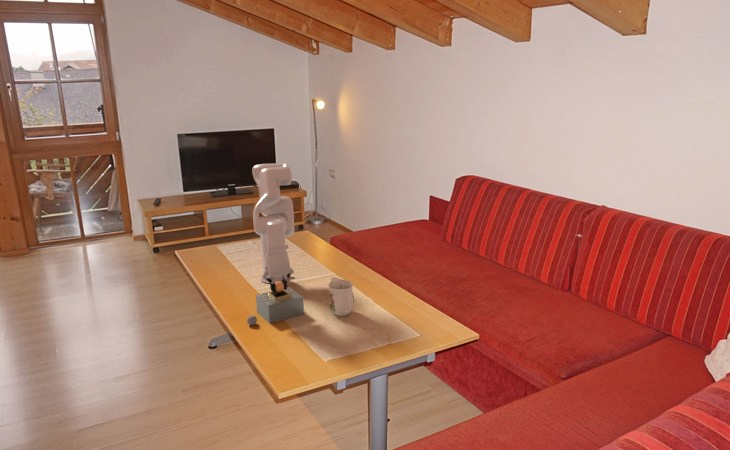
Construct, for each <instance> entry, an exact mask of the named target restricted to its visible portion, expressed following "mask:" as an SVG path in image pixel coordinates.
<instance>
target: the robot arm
mask: <svg viewBox="0 0 730 450" xmlns="http://www.w3.org/2000/svg"><path fill="white" fill-rule="evenodd" d="M251 169H252V170H251V171H252V172H251V173H252V176H253V180H254V182H255V183H256V186H257V188H258V196H259V200H258V201H257V202H256V204H255V206H254V207H253V211H252V222H253V223H252V224H253V229H254V232H255V234H257V235H258V236H260V242H261V253H262V271H263V275H261V277H260V280H261V282H263V283H265V284H269V286H270V287H269V288H270V291H273V292H274V293H275V292H276V287H275V283H276V282H277V281H281V282H282V283H283V284H284V290H287V287H288V281H289V278H290V277H291V276H292V274H293V273H294V272H295V271H294V269H293V268H292V267H291V264H290V258H289V254H288V252H287V249H289V245H288V244H287V245H286V238H287V237H291V236H293V235H294V234H295V216H294V214H295V213H294V204H293V200H292V198H291V197H290V196H287V195H282V196H281V190H280V189H281V188H280V186H289V185H291V184H292V182H293V174H292V171H291V168H290V166H289V164H288V163H286V162H280V163H279V162H278V163H261V164H260V163H259V164H256V165H254V166H253V167H251ZM260 215H262V217H260ZM263 216H264V217H263Z"/></svg>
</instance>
